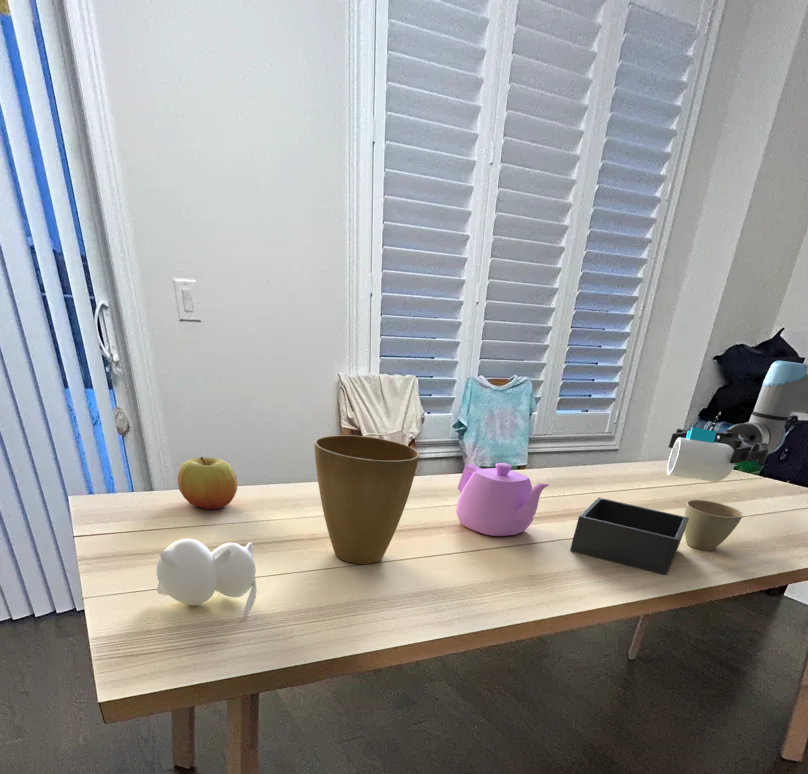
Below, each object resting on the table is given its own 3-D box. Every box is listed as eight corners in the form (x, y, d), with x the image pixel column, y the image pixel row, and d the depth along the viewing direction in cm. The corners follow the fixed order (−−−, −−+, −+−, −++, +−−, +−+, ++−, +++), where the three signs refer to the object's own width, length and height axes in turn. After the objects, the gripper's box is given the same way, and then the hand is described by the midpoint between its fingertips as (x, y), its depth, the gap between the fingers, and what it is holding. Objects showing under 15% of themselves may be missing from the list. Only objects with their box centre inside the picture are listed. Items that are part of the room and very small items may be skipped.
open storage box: (677, 549, 117) (689, 517, 114) (666, 575, 105) (679, 540, 102) (589, 528, 122) (598, 497, 119) (569, 550, 110) (578, 516, 107)
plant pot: (373, 583, 90) (382, 465, 81) (291, 554, 95) (291, 441, 86) (425, 556, 101) (438, 450, 92) (349, 532, 106) (354, 429, 97)
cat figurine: (253, 520, 78) (151, 523, 72) (277, 592, 75) (172, 601, 69) (242, 563, 85) (148, 568, 80) (263, 631, 82) (167, 641, 77)
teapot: (510, 551, 107) (524, 484, 100) (432, 515, 119) (440, 453, 112) (559, 540, 114) (575, 477, 108) (481, 508, 126) (491, 449, 120)
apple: (174, 497, 112) (169, 449, 107) (229, 495, 116) (227, 449, 111) (187, 515, 105) (182, 465, 100) (245, 512, 109) (243, 463, 105)
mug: (748, 431, 124) (685, 423, 125) (735, 480, 126) (674, 471, 127) (725, 446, 135) (668, 438, 136) (714, 490, 137) (658, 482, 138)
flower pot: (669, 546, 119) (683, 507, 115) (677, 533, 126) (690, 496, 122) (725, 559, 115) (741, 520, 111) (729, 545, 123) (744, 508, 119)
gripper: (793, 473, 136) (755, 483, 123) (686, 446, 149) (641, 453, 136) (809, 435, 131) (771, 442, 118) (698, 412, 145) (653, 415, 132)
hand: (702, 448), depth 127 cm, fingers closed on mug, 12 cm apart
